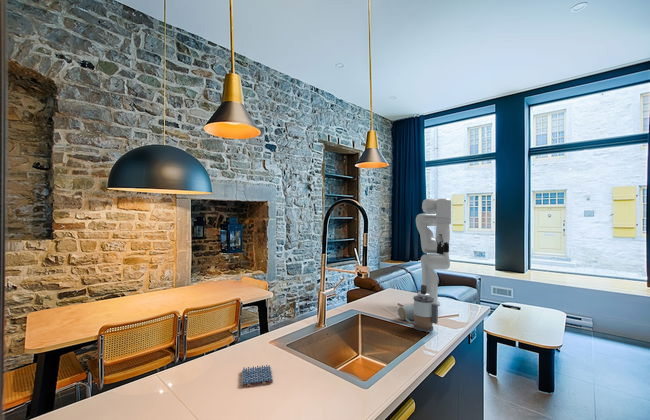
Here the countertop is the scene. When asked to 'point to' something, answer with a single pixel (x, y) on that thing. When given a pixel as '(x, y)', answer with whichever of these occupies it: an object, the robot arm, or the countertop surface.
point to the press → (425, 313)
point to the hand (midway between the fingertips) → (443, 253)
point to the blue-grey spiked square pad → (254, 372)
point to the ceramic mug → (406, 313)
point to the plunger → (423, 292)
